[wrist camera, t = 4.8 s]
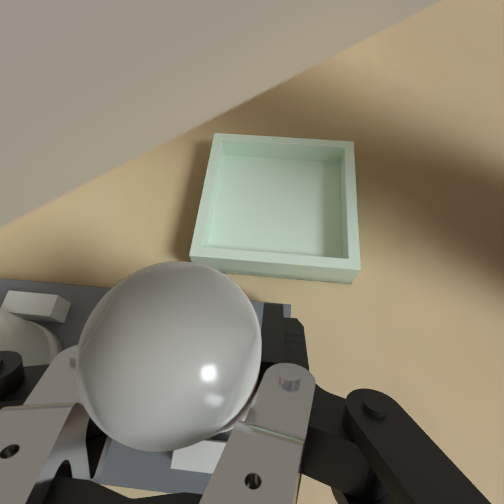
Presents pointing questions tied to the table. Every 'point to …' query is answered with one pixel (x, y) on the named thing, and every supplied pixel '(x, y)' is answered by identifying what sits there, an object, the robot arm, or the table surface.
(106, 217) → the table surface
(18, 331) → the plain fuse
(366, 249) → the table surface
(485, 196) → the table surface
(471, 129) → the table surface
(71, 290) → the fuse holder
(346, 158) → the tray
